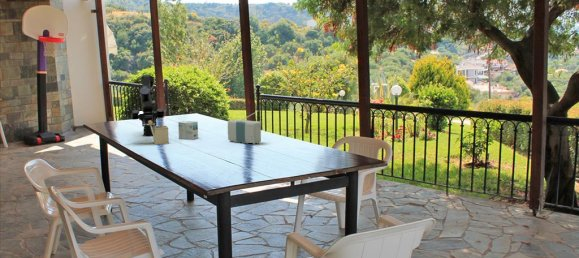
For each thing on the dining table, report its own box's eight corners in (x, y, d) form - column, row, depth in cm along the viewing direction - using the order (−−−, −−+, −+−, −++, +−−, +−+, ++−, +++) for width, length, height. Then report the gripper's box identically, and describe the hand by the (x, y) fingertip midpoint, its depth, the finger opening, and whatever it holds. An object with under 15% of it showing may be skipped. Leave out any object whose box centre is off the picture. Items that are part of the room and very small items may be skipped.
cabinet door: (154, 133, 340) (150, 118, 338) (156, 135, 332) (152, 120, 330) (150, 134, 340) (146, 119, 338) (152, 136, 331) (148, 121, 329)
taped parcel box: (227, 141, 341) (226, 109, 338) (236, 140, 347) (235, 108, 344) (254, 145, 329) (253, 111, 326) (262, 143, 336) (262, 110, 333)
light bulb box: (198, 138, 355) (198, 121, 353) (193, 139, 348) (192, 122, 347) (183, 137, 358) (183, 120, 356) (178, 138, 352) (177, 122, 350)
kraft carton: (166, 140, 344) (166, 125, 343) (168, 143, 335) (168, 128, 333) (153, 141, 341) (152, 126, 340) (155, 144, 332) (154, 128, 331)
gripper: (130, 97, 330) (133, 117, 321) (162, 95, 336) (166, 115, 327) (130, 109, 338) (133, 129, 329) (161, 107, 344) (165, 127, 336)
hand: (149, 125), depth 330 cm, fingers open, 3 cm apart
